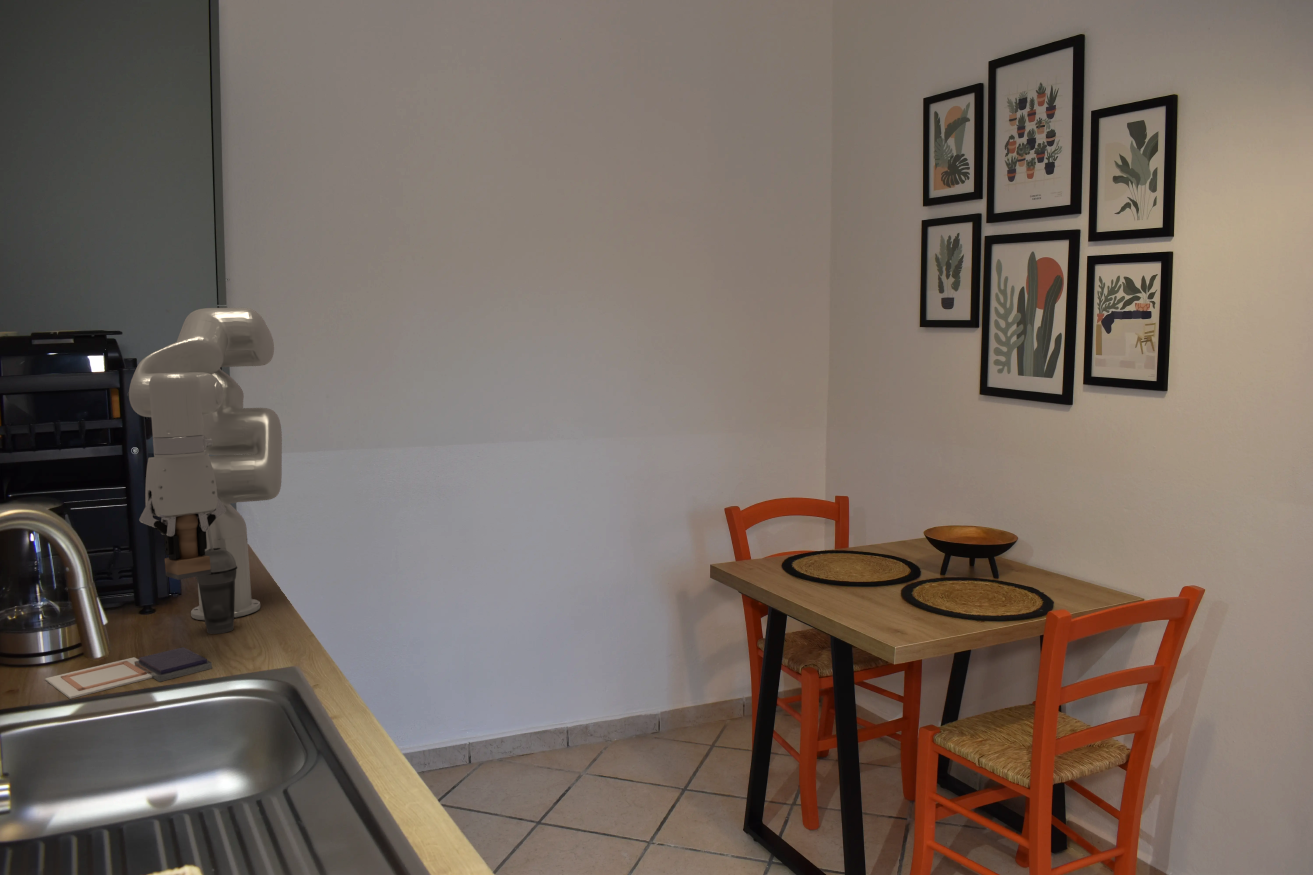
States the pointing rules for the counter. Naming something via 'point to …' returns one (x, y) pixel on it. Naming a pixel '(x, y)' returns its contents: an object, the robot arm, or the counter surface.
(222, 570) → the beverage cup
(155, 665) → the ink pad
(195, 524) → the stamp
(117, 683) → the print card
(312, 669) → the counter surface
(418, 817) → the counter surface
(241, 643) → the counter surface
